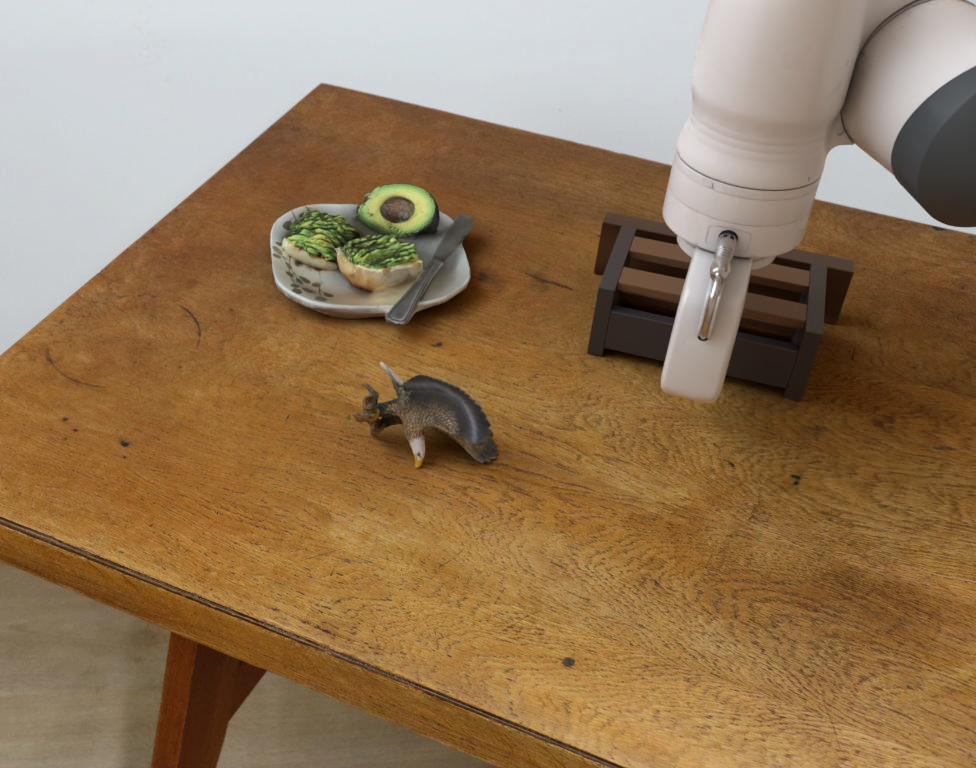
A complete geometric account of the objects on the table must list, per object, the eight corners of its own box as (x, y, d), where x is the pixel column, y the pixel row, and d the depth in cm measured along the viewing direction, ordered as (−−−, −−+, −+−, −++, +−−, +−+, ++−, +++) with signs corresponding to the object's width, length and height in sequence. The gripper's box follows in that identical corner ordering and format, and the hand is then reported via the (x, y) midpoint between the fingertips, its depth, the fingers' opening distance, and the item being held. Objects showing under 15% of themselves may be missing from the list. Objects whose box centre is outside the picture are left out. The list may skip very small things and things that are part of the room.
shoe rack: (610, 288, 93) (621, 225, 89) (806, 329, 89) (827, 266, 85) (586, 353, 85) (598, 287, 82) (800, 401, 82) (823, 334, 78)
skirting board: (598, 262, 96) (607, 210, 93) (836, 312, 91) (854, 260, 88) (593, 273, 95) (602, 221, 92) (836, 324, 90) (854, 272, 87)
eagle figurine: (354, 476, 71) (494, 473, 70) (348, 366, 71) (488, 359, 69) (378, 460, 79) (504, 456, 77) (372, 360, 78) (499, 354, 77)
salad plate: (500, 340, 86) (506, 290, 83) (269, 344, 84) (267, 293, 82) (466, 218, 101) (470, 172, 99) (269, 219, 100) (268, 172, 97)
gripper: (775, 293, 61) (720, 479, 69) (799, 145, 76) (752, 312, 85) (661, 268, 62) (620, 454, 71) (707, 128, 78) (669, 294, 86)
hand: (692, 375), depth 78 cm, fingers closed
